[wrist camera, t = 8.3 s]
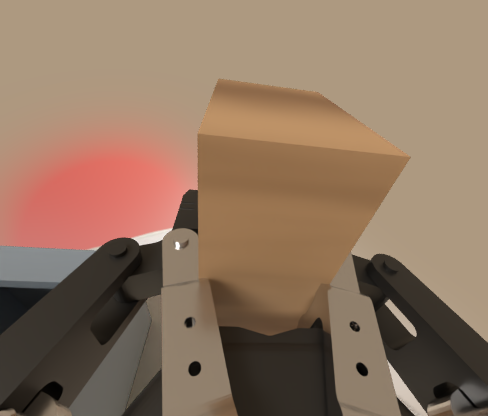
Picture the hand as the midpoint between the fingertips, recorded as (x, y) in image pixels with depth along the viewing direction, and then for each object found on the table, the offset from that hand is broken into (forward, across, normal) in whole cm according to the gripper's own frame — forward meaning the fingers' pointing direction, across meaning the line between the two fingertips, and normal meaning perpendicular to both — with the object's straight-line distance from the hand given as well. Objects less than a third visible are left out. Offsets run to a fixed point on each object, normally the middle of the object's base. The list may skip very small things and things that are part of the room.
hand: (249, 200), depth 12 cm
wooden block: (-3, 0, +6) cm, 7 cm away
